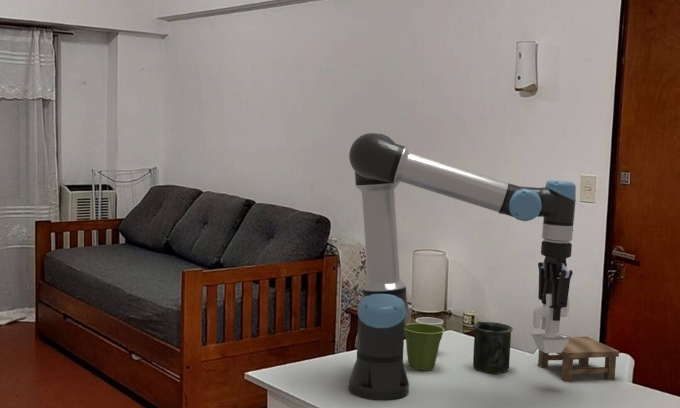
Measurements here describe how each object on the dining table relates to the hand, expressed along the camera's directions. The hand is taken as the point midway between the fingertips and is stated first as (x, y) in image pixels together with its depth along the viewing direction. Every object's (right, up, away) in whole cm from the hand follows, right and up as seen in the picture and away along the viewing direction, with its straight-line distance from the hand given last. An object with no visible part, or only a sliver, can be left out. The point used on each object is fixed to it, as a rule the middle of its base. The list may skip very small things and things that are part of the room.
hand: (549, 330), depth 197 cm
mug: (-12, -14, +16) cm, 24 cm away
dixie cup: (-28, -12, +31) cm, 44 cm away
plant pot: (-32, -13, +16) cm, 38 cm away
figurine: (0, -5, 0) cm, 6 cm away
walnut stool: (+12, -14, +16) cm, 25 cm away
